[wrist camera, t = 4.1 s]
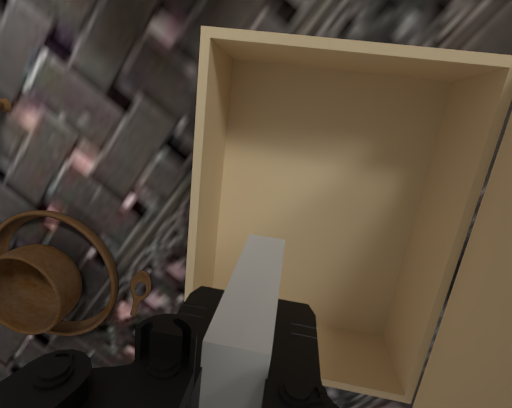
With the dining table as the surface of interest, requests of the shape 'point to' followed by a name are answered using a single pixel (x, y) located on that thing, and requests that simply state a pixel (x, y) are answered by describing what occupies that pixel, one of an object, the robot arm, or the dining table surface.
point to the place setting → (50, 279)
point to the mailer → (345, 184)
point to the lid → (478, 308)
